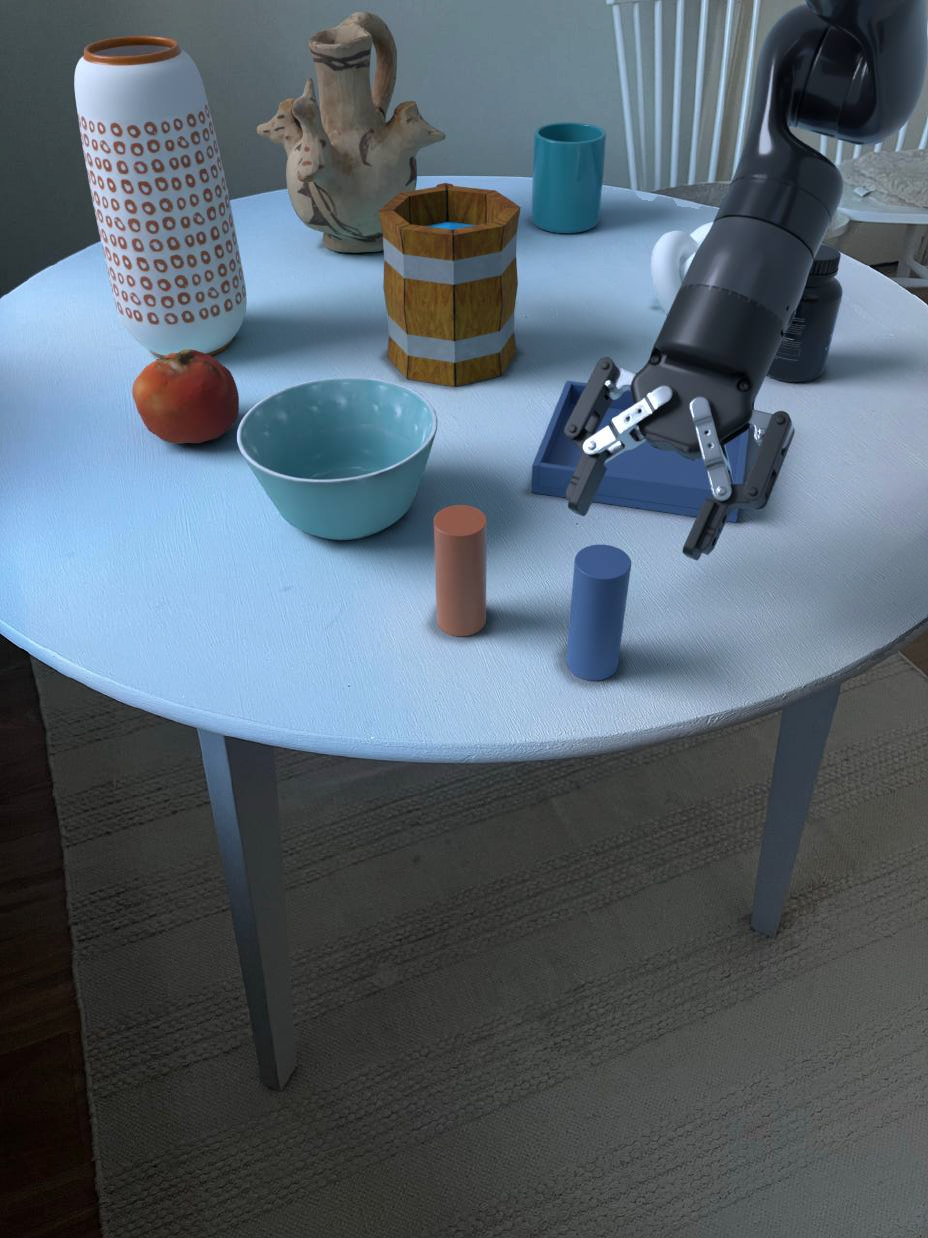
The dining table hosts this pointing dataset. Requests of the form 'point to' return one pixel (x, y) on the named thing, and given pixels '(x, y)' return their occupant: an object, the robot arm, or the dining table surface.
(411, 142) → the ceramic vessel
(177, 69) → the vase
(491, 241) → the wooden banded barrel
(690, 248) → the white trefoil knot
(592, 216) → the cup
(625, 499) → the blue tray
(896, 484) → the dining table surface
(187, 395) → the red round fruit
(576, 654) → the blue peg
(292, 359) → the dining table surface
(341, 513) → the bowl
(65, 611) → the dining table surface
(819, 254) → the supplement bottle
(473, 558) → the terracotta peg
